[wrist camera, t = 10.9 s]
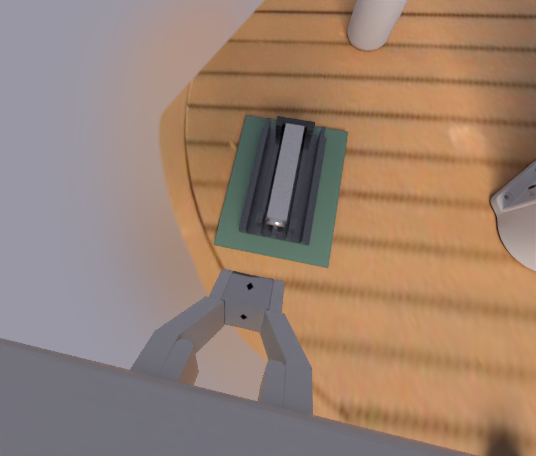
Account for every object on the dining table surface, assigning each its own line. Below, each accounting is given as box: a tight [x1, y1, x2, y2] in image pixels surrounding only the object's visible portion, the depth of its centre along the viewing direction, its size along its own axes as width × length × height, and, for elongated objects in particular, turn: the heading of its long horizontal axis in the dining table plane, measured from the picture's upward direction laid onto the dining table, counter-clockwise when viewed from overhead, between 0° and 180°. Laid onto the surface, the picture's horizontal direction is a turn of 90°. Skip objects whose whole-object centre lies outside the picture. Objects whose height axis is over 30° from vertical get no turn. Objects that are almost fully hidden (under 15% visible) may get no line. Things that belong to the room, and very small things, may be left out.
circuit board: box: [214, 115, 348, 268], centre depth 37 cm, size 26×20×1 cm
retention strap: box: [266, 123, 305, 227], centre depth 31 cm, size 17×3×1 cm, turn 168°
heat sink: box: [239, 116, 327, 246], centre depth 33 cm, size 20×12×6 cm, turn 168°
